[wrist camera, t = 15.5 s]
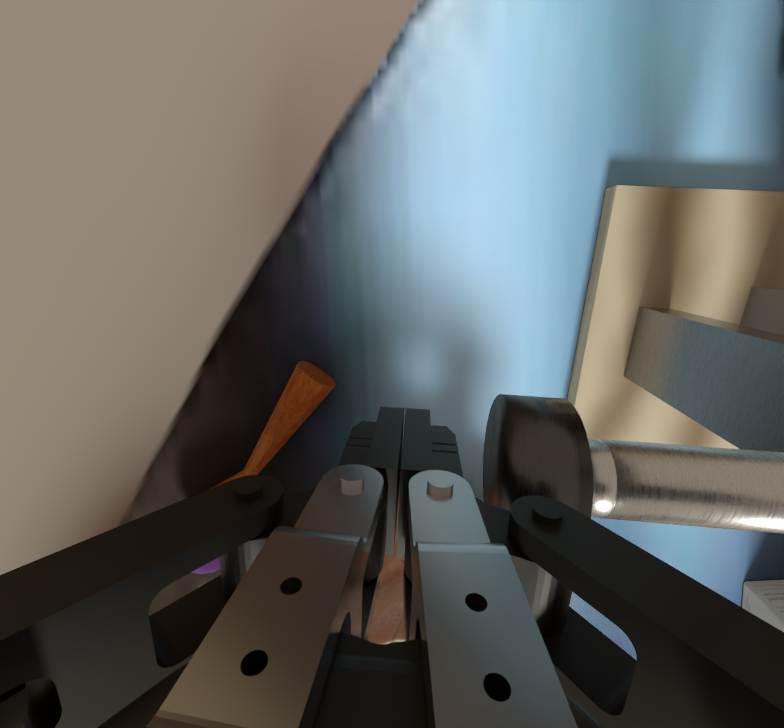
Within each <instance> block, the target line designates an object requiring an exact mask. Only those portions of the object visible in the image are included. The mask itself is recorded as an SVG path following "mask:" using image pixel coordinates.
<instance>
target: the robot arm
mask: <svg viewBox="0 0 784 728" xmlns="http://www.w3.org/2000/svg"><path fill="white" fill-rule="evenodd" d="M403 422H404V408H392V407H380V411H379V415H378V419H377V422H367V421H362V422H360V423H359V424H358V425H356V426H355V427H354V428H352V431H351V433H350V436H349V439H348V441H347V444H346V447H345V449H344V452H343V454H342V457H341V460H340V462H339V465H338V467H335V468H333V469H331V470H329V471H327V472H326V473H325V474H324V475H323V477H322V478H321V480H320V482H319V484H318V485H317V487H316V489H314V490H310V491H306V492H300V493H292V494H284V489H283V485H282V483H281V482H280V481H279V480H278V479H276V478H274V477H271V476H267V475H248V476H243V477H239V478H236V479H233V480H231V481H228V482H226V483H223V484H221V485H218V486H216V487H214V488H211V489H209V490H206V491H204V492H201V493H199V494H197V495H194V496H192V497H189V498H187V499H184V500H182V501H180V502H177V503H175V504H172V505H170V506H167V507H165V508H163V509H160V510H158V511H155V512H153V513H150V514H148V515H146V516H143V517H141V518H138V519H136V520H133V521H131V522H129V523H126V524H124V525H121V526H119V527H116V528H114V529H112V530H109V531H107V532H104V533H102V534H99V535H97V536H95V537H92V538H90V539H87V540H85V541H82V542H80V543H78V544H75V545H73V546H70V547H68V548H65V549H63V550H61V551H58V552H56V553H53V554H51V555H49V556H46V557H44V558H41V559H39V560H37V561H34V562H32V563H29V564H27V565H24V566H22V567H19V568H17V569H15V570H12V571H10V572H7V573H5V574H2V575H0V728H784V632H782V631H781V630H779V629H777V628H776V627H774V626H772V625H771V624H769V623H767V622H765V621H764V620H762V619H760V618H759V617H757V616H755V615H753V614H752V613H750V612H748V611H747V610H745V609H743V608H742V607H740V606H738V605H736V604H735V603H733V602H731V601H730V600H728V599H726V598H725V597H723V596H721V595H719V594H718V593H716V592H714V591H713V590H711V589H709V588H707V587H706V586H704V585H702V584H701V583H699V582H697V581H696V580H694V579H692V578H690V577H689V576H687V575H685V574H684V573H682V572H680V571H679V570H677V569H675V568H673V567H672V566H670V565H668V564H667V563H665V562H663V561H661V560H660V559H658V558H656V557H655V556H653V555H651V554H650V553H648V552H646V551H644V550H643V549H641V548H639V547H638V546H636V545H634V544H633V543H631V542H629V541H627V540H626V539H624V538H622V537H621V536H619V535H617V534H615V533H614V532H612V531H610V530H609V529H607V528H605V527H604V526H602V525H600V524H598V523H597V522H595V521H593V520H592V519H590V518H588V517H587V516H585V515H583V514H581V513H580V512H578V511H576V510H575V509H573V508H571V507H569V506H568V505H566V504H564V503H562V502H560V501H557V500H555V499H552V498H548V497H544V496H534V495H531V496H524V497H520V498H518V499H516V500H515V501H514V502H513V503H512V505H511V509H510V511H509V510H506V509H502V508H498V507H495V506H492V505H489V504H486V503H484V502H482V501H480V500H478V499H477V498H475V496H474V493H473V490H472V488H471V486H470V484H469V483H468V482H467V481H466V480H465V479H464V478H463V475H462V469H461V464H460V459H459V454H458V448H457V443H456V437H455V434H454V433H453V432H452V431H451V430H449V429H448V428H447V427H446V426H431V424H430V410H425V409H409V408H406V415H405V426H404V437H403ZM402 442H403V448H402ZM399 488H400V492H399ZM398 499H399V512H398V532H397V552H396V556H404V575H403V605H404V629H405V641H404V642H397V643H391V644H376V643H373V642H370V641H368V636H369V632H370V627H371V622H372V618H373V613H374V608H375V604H376V599H377V595H378V590H379V585H380V572H381V570H382V568H383V563H384V555H390V556H394V545H395V534H396V522H397V511H398ZM218 557H219V560H220V570H221V575H220V576H218V577H216V578H215V579H213V580H211V581H210V582H208V583H206V584H204V585H203V586H201V587H199V588H197V589H196V590H194V591H192V592H191V593H189V594H187V595H185V596H184V597H182V598H180V599H179V600H177V601H175V602H173V603H172V604H170V605H168V606H166V607H165V608H163V609H161V610H160V611H158V612H156V613H154V614H153V615H151V616H149V615H148V611H149V607H150V604H151V602H152V600H153V599H154V597H155V596H156V595H157V594H158V593H159V592H160V591H161V590H162V589H163V588H164V587H166V586H167V585H169V584H171V583H172V582H174V581H176V580H178V579H180V578H182V577H183V576H185V575H187V574H189V573H191V572H193V571H194V570H196V569H198V568H200V567H202V566H204V565H205V564H207V563H209V562H211V561H213V560H215V559H216V558H218ZM572 591H573V592H574V593H575V594H577V595H578V596H579V597H580V598H582V599H583V600H584V601H586V602H587V603H588V604H590V605H591V606H592V607H593V608H595V609H596V610H597V611H599V612H600V613H601V614H603V615H604V616H605V617H606V618H608V619H609V620H610V621H612V622H613V623H614V624H616V625H617V626H618V627H619V628H620V629H621V630H622V631H623V632H624V633H625V634H626V635H627V636H628V637H629V639H630V640H631V642H632V644H633V646H634V648H635V651H636V654H637V661H636V660H635V659H634V658H633V657H631V656H630V655H629V654H628V653H626V652H625V651H624V650H623V649H621V648H620V647H619V646H618V645H616V644H615V643H614V642H613V641H611V640H610V639H609V638H608V637H607V636H605V635H604V634H603V633H602V632H600V631H599V630H598V629H597V628H595V627H594V626H593V625H592V624H590V623H589V622H588V621H587V620H585V619H584V618H583V617H582V616H580V615H579V614H578V613H577V612H575V611H574V610H573V609H572V608H571V607H569V604H570V599H571V595H572Z"/></svg>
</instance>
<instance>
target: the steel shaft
mask: <svg viewBox="0 0 784 728" xmlns="http://www.w3.org/2000/svg"><path fill="white" fill-rule="evenodd" d="M531 495H534V496H544V497H548V498H552V499H555V500H557V501H560V502H562V503H564V504H566V505H568V506H569V507H571V508H573V509H575V510H576V511H578V512H580V513H581V514H583V515H585V516H587V517H588V518H590V519H591V516H592V517H597V518H606V519H617V520H629V521H641V522H653V523H665V524H676V525H688V526H700V527H712V528H724V529H735V530H747V531H759V532H771V533H783V534H784V453H783V452H770V451H756V450H743V449H729V448H716V447H702V446H689V445H675V444H662V443H648V442H635V441H621V440H608V439H588V438H587V434H586V430H585V427H584V424H583V422H582V420H581V417H580V415H579V413H578V412H577V410H576V408H575V407H574V406H573V405H572V404H571V403H570V402H569V401H568V400H566V399H562V398H548V397H534V396H519V395H505V394H500V395H498V396H497V397H496V398H495V400H494V402H493V404H492V406H491V409H490V413H489V417H488V422H487V427H486V434H485V443H484V456H483V496H484V503H486V504H489V505H492V506H495V507H498V508H502V509H506V510H509V511H510V509H511V505H512V503H513V502H514V501H515V500H516V499H518V498H520V497H524V496H531Z"/></svg>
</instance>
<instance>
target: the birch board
mask: <svg viewBox="0 0 784 728" xmlns="http://www.w3.org/2000/svg"><path fill="white" fill-rule="evenodd" d="M751 287H765V288H784V192H778V191H753V190H728V189H703V188H678V187H653V186H628V185H616V186H613V187H609V188H606V192H605V197H604V203H603V208H602V214H601V219H600V225H599V230H598V235H597V241H596V246H595V252H594V257H593V262H592V268H591V273H590V279H589V284H588V289H587V295H586V300H585V306H584V311H583V316H582V322H581V327H580V333H579V338H578V343H577V349H576V354H575V360H574V365H573V370H572V376H571V381H570V387H569V392H568V397H567V400H568V401H569V402H570V403H571V404H572V405H573V406H574V407H575V408H576V410H577V412H578V413H579V415H580V417H581V420H582V422H583V424H584V427H585V430H586V434H587V438H588V439H608V440H621V441H635V442H648V443H662V444H675V445H689V446H702V447H716V448H729V449H739V448H737V447H736V446H734V445H732V444H731V443H729V442H728V441H726V440H724V439H723V438H721V437H720V436H718V435H716V434H715V433H713V432H712V431H710V430H708V429H707V428H705V427H704V426H702V425H700V424H699V423H697V422H696V421H694V420H692V419H691V418H689V417H688V416H686V415H684V414H683V413H681V412H680V411H678V410H676V409H675V408H673V407H672V406H670V405H668V404H667V403H665V402H664V401H662V400H660V399H659V398H657V397H656V396H654V395H652V394H651V393H649V392H648V391H646V390H644V389H643V388H641V387H640V386H638V385H636V384H635V383H633V382H632V381H630V380H628V379H627V378H625V377H624V372H625V368H626V363H627V359H628V354H629V350H630V345H631V341H632V336H633V332H634V328H635V323H636V319H637V314H638V310H639V307H655V308H670V309H675V310H679V311H683V312H687V313H692V314H696V315H700V316H704V317H708V318H713V319H717V320H721V321H725V322H730V323H734V324H738V325H740V323H741V320H742V316H743V313H744V310H745V306H746V303H747V300H748V296H749V293H750V290H751Z"/></svg>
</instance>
